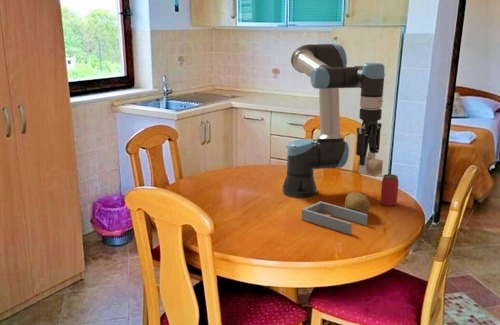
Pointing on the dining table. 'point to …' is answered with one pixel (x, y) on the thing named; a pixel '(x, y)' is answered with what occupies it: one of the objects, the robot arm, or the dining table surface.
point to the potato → (357, 202)
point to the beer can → (389, 190)
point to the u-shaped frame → (324, 211)
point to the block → (373, 167)
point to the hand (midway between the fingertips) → (366, 171)
